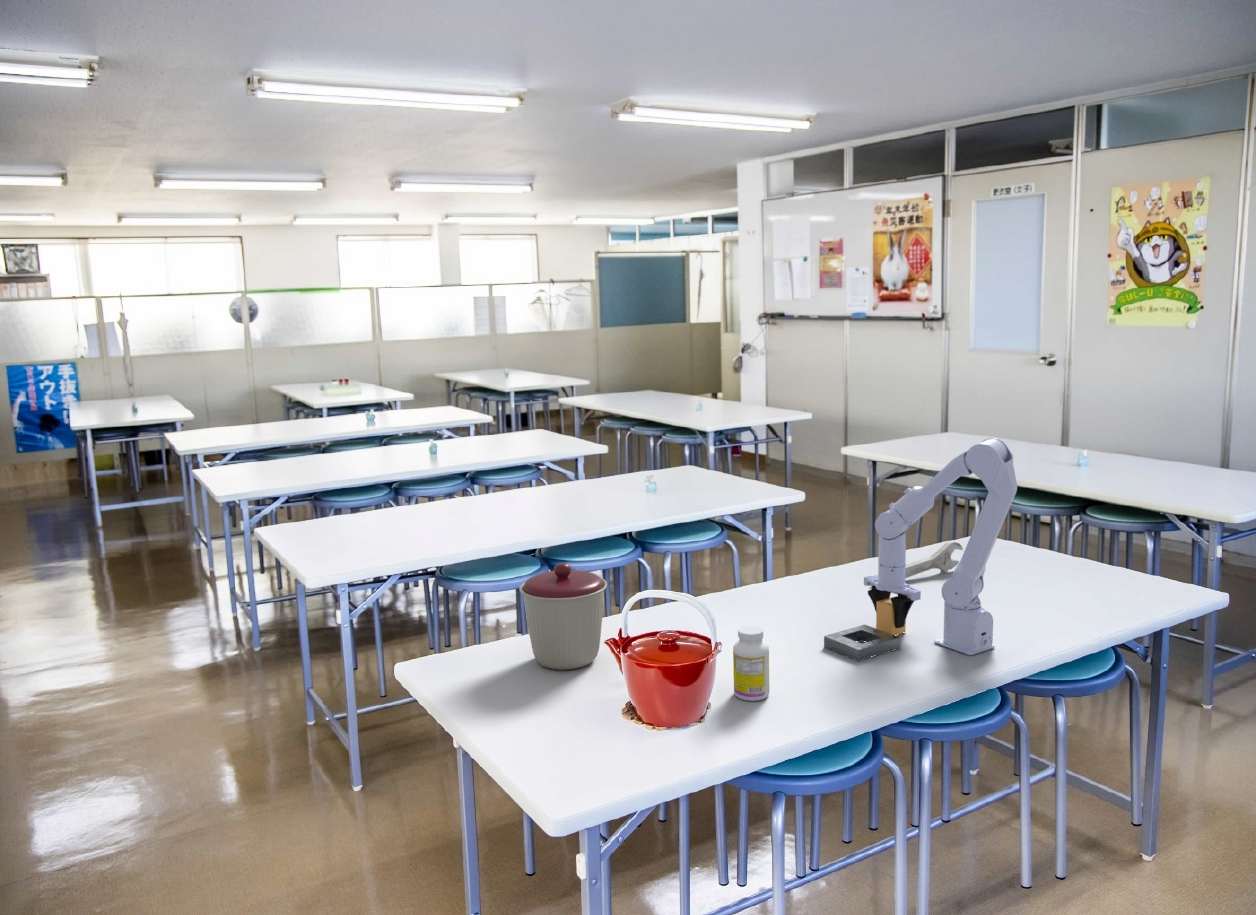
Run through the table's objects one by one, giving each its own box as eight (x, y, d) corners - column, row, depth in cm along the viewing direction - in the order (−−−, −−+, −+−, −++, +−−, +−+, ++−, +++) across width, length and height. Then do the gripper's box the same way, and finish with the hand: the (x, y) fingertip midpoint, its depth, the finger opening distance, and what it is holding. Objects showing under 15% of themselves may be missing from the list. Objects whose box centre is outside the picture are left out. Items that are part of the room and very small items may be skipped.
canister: (593, 640, 211) (589, 547, 207) (622, 668, 194) (619, 568, 191) (513, 653, 205) (508, 558, 201) (536, 684, 188) (531, 580, 184)
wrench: (871, 597, 244) (959, 566, 256) (876, 599, 242) (964, 568, 255) (869, 567, 242) (957, 538, 255) (874, 569, 241) (962, 539, 253)
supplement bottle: (746, 685, 184) (745, 621, 182) (775, 693, 180) (775, 628, 178) (726, 696, 179) (725, 631, 177) (757, 705, 175) (756, 638, 173)
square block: (905, 632, 210) (906, 602, 208) (891, 637, 207) (891, 606, 206) (890, 627, 213) (890, 597, 212) (876, 631, 211) (876, 601, 210)
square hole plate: (899, 648, 200) (899, 637, 200) (858, 661, 194) (858, 649, 194) (864, 635, 209) (864, 624, 208) (824, 647, 203) (824, 636, 202)
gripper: (854, 560, 212) (853, 618, 214) (904, 574, 200) (903, 636, 202) (876, 554, 215) (876, 612, 218) (927, 569, 203) (926, 630, 205)
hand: (890, 623), depth 210 cm, fingers closed on square block, 4 cm apart
